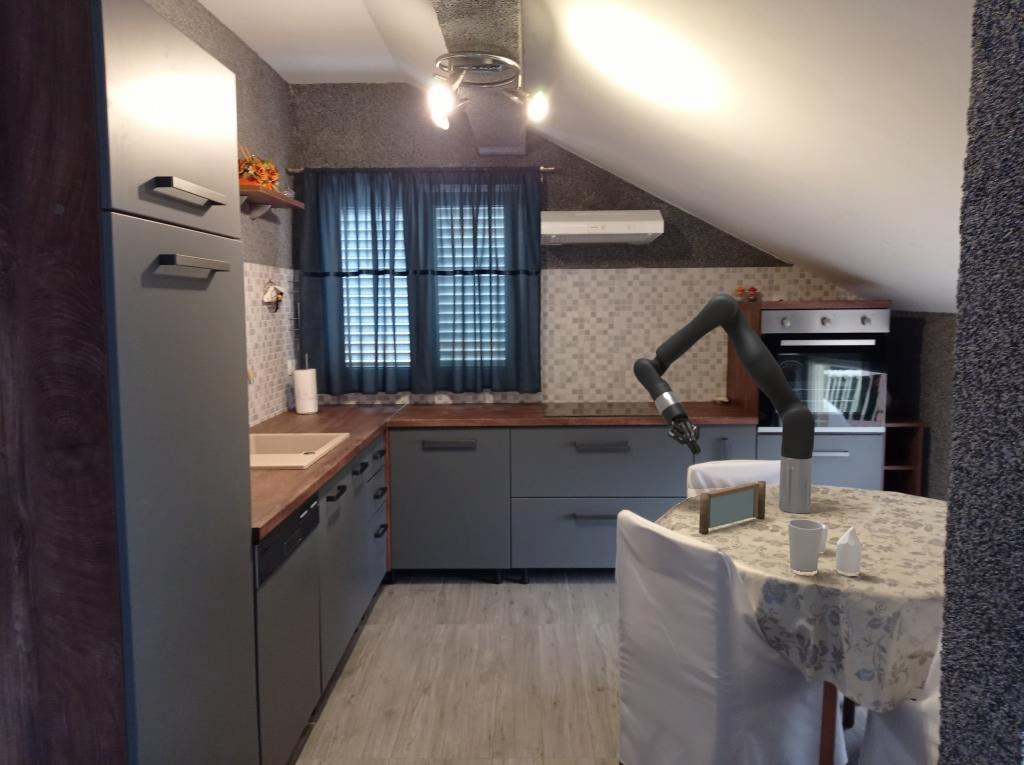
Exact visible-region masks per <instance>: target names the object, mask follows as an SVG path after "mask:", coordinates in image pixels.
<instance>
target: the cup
mask: <svg viewBox="0 0 1024 765" xmlns="http://www.w3.org/2000/svg"><path fill="white" fill-rule="evenodd" d="M821 523H822V522H819V521H815V520H812V519H804V518H794V519H790V520H789V521H788V522H787V530H788V545H789V569H790V568H791V569H793V570H796V571H800V572H813V571H816V570H817V571H818V566H819V557H820V554H819V551H820V543H821V538H822V531H823V525H822V524H821Z"/></svg>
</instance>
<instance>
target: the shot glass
mask: <svg viewBox="0 0 1024 765" xmlns="http://www.w3.org/2000/svg"><path fill="white" fill-rule="evenodd" d="M820 523H821V524H822V525H823V531H822V538H821V543H820V551H819V552H824V551H826V545H827V539H828V530H829V526H828V525H827V524H826V523H822V522H820ZM824 553H825V552H824Z"/></svg>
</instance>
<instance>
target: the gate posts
mask: <svg viewBox="0 0 1024 765" xmlns="http://www.w3.org/2000/svg"><path fill="white" fill-rule="evenodd" d="M757 483H759V493H758V517H755V518H756V519H758V520H765V519H766V516H765V515H766V492H767V490H766V488H767V486H766V485H767V482H766V481H765V480H757ZM707 493H708V492H706V493H705V492H701V493H700V494H699V520H698V522H699V523H698V524H699V525H698V527H699V529H698V532H699V533H698V534H700V535H708V534H709V533H710V531H709V530H710V528H709V494H707Z"/></svg>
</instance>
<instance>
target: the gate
mask: <svg viewBox="0 0 1024 765" xmlns="http://www.w3.org/2000/svg"><path fill="white" fill-rule="evenodd" d="M706 493H707V494H709V529H714V528H717V527H720V526H724V525H727V524H728V525H729V524H732V523H736V522H741V521H744V520H747V519H751V518H756V517H758V493H759V483H758V482H750V483H746V484H745V483H744V484H740V485H735V486H732V487H727V488H723V489H717V490H712V491H708V492H706Z"/></svg>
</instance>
